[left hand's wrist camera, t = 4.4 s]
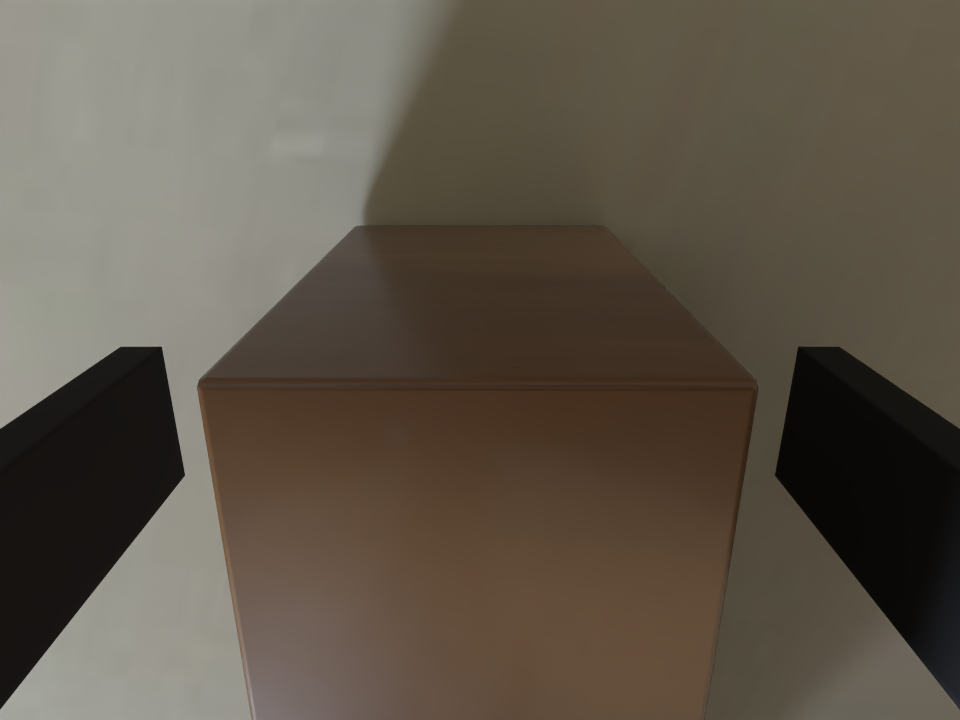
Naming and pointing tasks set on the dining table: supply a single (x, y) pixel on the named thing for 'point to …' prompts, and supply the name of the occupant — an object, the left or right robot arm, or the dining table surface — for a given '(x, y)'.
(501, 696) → the bar
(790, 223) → the dining table surface
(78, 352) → the dining table surface
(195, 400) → the dining table surface
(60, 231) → the dining table surface
